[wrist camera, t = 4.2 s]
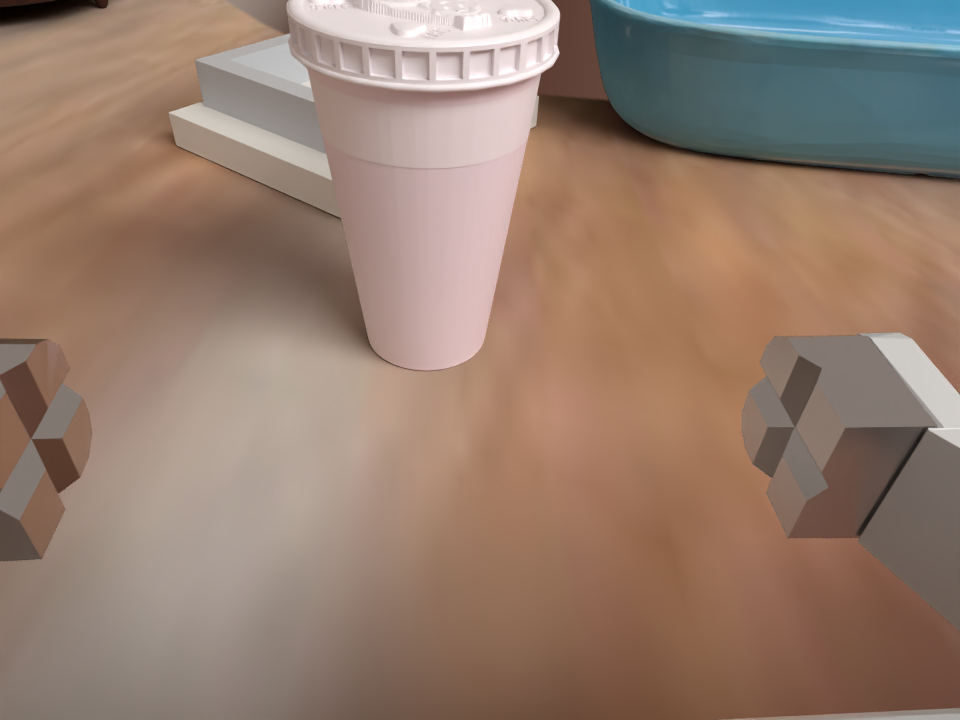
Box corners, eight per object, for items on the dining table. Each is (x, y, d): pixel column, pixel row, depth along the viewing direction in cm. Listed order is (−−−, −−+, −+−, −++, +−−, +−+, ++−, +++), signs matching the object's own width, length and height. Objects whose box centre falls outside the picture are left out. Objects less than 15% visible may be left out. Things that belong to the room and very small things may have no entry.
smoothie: (449, 257, 26) (458, -241, 17) (570, 348, 23) (661, -229, 14) (287, 317, 23) (196, -256, 14) (396, 434, 19) (367, -245, 10)
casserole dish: (520, 169, 33) (534, -2, 28) (547, 31, 50) (558, -90, 45) (1392, 252, 30) (1562, 79, 26) (1106, 76, 47) (1178, -46, 43)
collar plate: (176, 145, 33) (151, 40, 30) (372, 74, 41) (368, -13, 38) (354, 224, 28) (345, 108, 25) (536, 125, 36) (545, 30, 33)
